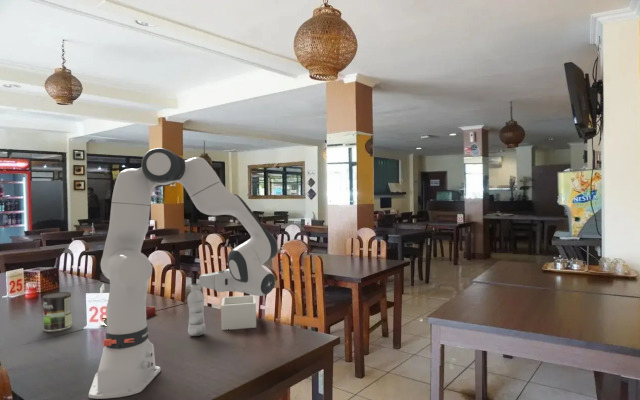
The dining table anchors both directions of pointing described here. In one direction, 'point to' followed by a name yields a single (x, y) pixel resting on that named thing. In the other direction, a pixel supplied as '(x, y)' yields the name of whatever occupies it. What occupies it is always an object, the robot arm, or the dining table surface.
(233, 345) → the dining table surface
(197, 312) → the plastic bottle
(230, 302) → the bin
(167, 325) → the dining table surface
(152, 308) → the hardcover book
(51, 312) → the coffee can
